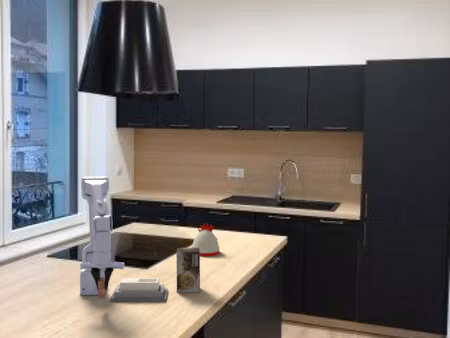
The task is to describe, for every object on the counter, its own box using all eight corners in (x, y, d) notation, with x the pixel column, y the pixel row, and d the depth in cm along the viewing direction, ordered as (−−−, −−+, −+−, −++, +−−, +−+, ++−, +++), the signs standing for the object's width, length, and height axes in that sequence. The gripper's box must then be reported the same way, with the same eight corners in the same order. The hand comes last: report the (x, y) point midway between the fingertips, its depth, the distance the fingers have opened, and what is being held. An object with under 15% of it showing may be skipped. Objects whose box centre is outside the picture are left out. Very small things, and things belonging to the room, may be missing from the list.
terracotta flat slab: (98, 298, 181) (98, 281, 180) (101, 293, 186) (100, 276, 185) (104, 298, 181) (104, 281, 180) (106, 293, 186) (106, 276, 185)
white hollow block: (158, 295, 197) (158, 282, 196) (120, 295, 196) (119, 282, 196) (159, 291, 202) (159, 278, 202) (122, 291, 202) (122, 278, 201)
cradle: (110, 301, 193) (110, 293, 192) (115, 291, 205) (115, 283, 204) (165, 301, 194) (165, 293, 193) (167, 290, 206) (167, 283, 205)
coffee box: (199, 287, 210) (200, 247, 209) (200, 292, 204) (200, 251, 203) (176, 287, 210) (176, 247, 208) (176, 292, 203) (176, 251, 202)
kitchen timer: (218, 256, 259) (219, 226, 258) (190, 256, 259) (190, 225, 258) (219, 249, 273) (220, 220, 271) (192, 249, 273) (192, 220, 272)
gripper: (78, 253, 178) (78, 293, 179) (121, 253, 178) (122, 293, 179) (82, 248, 185) (83, 286, 186) (124, 248, 185) (125, 286, 186)
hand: (102, 289), depth 183 cm, fingers closed on terracotta flat slab, 2 cm apart
